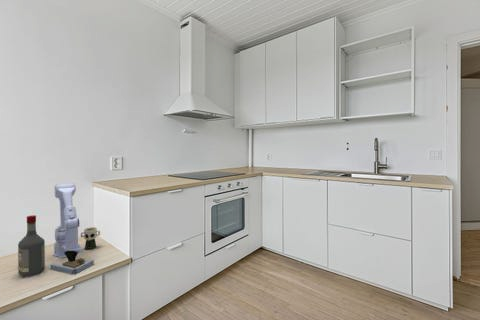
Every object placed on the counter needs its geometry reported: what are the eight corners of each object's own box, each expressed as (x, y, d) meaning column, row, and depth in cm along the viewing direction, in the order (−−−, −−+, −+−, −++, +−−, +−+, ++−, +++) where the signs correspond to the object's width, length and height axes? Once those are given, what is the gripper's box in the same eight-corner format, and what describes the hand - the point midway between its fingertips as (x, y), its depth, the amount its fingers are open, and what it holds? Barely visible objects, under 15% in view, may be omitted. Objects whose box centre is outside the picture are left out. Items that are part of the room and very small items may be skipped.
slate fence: (50, 269, 125) (50, 264, 125) (71, 259, 136) (71, 255, 136) (73, 274, 120) (73, 270, 120) (93, 264, 131) (93, 260, 131)
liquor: (39, 266, 127) (38, 213, 126) (46, 271, 123) (45, 215, 122) (17, 273, 119) (16, 216, 118) (23, 279, 115) (23, 219, 114)
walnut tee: (77, 262, 132) (76, 257, 132) (88, 265, 129) (88, 259, 129) (62, 269, 124) (62, 263, 124) (74, 272, 122) (74, 266, 122)
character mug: (79, 251, 147) (79, 231, 146) (82, 247, 153) (82, 228, 153) (99, 249, 151) (99, 229, 151) (100, 244, 158) (100, 226, 157)
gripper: (88, 238, 131) (88, 262, 131) (69, 235, 135) (69, 258, 136) (76, 243, 124) (76, 267, 125) (56, 239, 128) (56, 263, 129)
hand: (71, 263), depth 130 cm, fingers closed
